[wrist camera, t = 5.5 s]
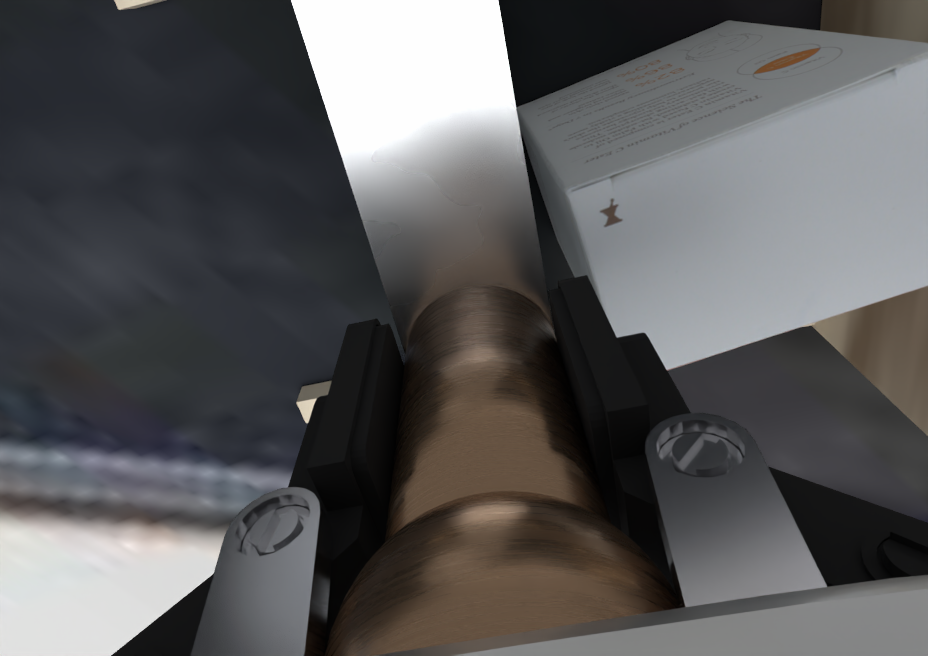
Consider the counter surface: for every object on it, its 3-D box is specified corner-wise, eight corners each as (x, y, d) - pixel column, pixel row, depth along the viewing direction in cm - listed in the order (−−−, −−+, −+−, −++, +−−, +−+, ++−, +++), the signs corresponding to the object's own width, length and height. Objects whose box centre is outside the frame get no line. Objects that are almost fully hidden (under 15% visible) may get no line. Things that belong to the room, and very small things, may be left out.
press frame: (948, -268, 17) (1468, -525, 8) (870, 301, 26) (1079, 459, 18) (114, -40, 19) (-159, -57, 11) (312, 409, 28) (253, 597, 20)
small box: (554, 239, 24) (618, 393, 15) (510, 104, 22) (555, 193, 13) (754, 167, 23) (952, 288, 14) (733, 14, 20) (961, 42, 11)
